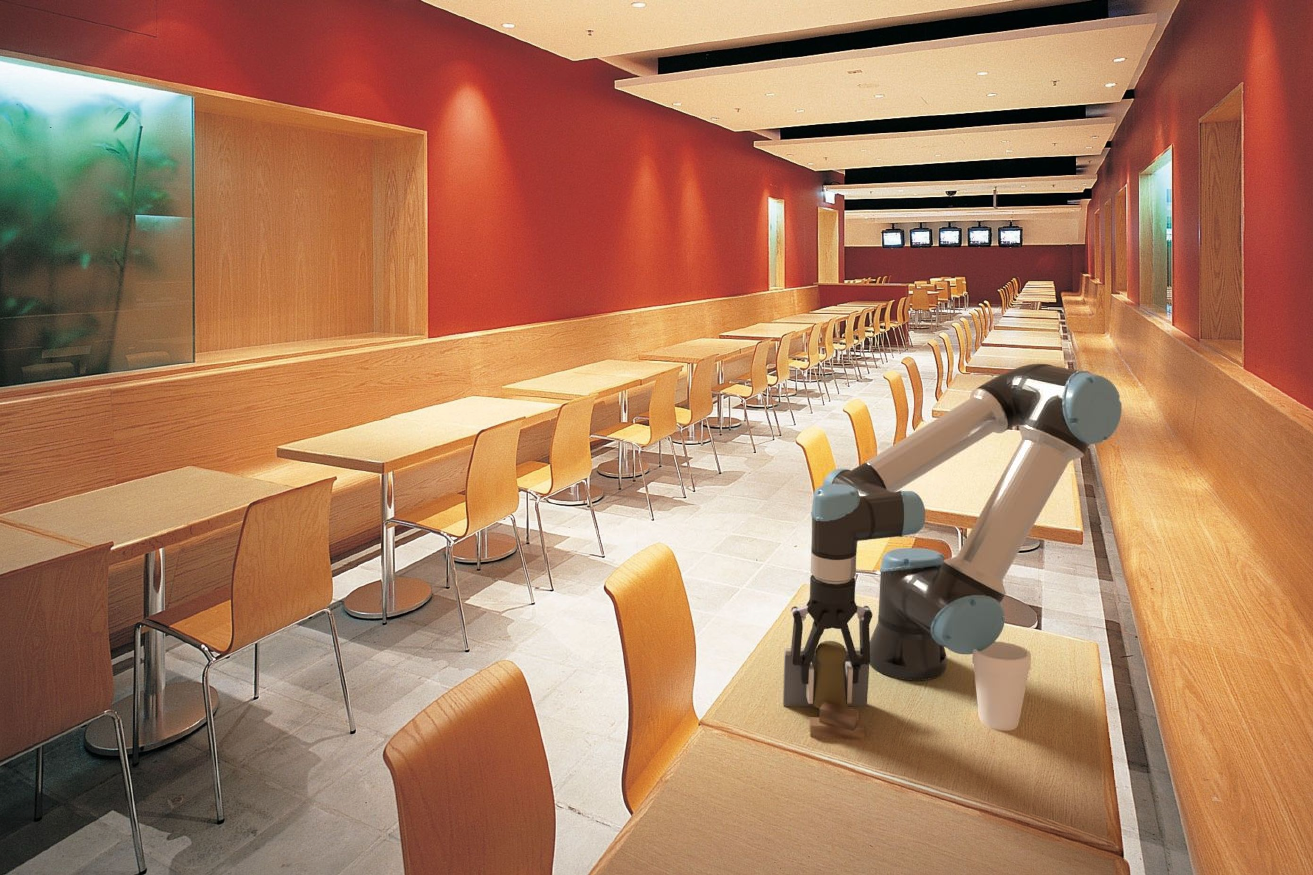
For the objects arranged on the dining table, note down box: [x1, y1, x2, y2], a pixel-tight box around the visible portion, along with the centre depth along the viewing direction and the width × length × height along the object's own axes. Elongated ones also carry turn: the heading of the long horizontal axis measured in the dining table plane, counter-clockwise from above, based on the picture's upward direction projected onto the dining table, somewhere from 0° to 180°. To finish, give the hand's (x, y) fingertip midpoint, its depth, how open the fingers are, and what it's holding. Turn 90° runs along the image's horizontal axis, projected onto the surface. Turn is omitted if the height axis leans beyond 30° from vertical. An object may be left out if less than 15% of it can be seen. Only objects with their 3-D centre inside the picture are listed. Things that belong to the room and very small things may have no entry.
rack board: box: [782, 647, 870, 707], centre depth 154 cm, size 15×1×11 cm, turn 91°
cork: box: [813, 640, 847, 710], centre depth 149 cm, size 6×6×11 cm
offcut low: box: [808, 716, 866, 740], centre depth 146 cm, size 9×3×2 cm, turn 85°
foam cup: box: [971, 641, 1032, 732], centre depth 149 cm, size 10×9×13 cm
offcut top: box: [818, 702, 860, 731], centre depth 145 cm, size 6×2×2 cm, turn 63°
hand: (828, 699), depth 151 cm, fingers closed on cork, 6 cm apart
